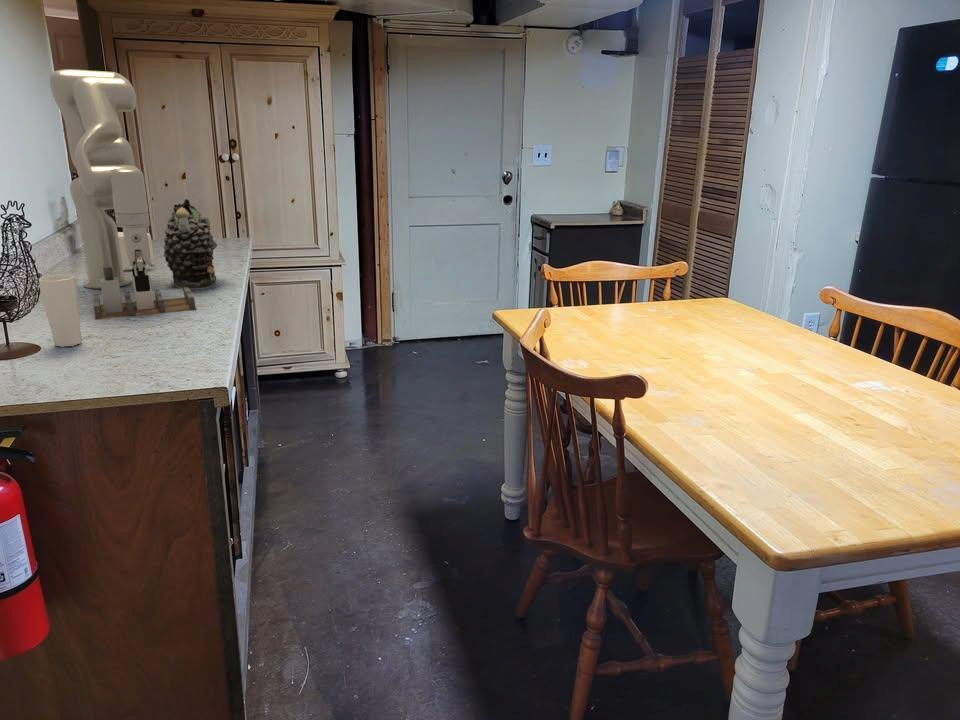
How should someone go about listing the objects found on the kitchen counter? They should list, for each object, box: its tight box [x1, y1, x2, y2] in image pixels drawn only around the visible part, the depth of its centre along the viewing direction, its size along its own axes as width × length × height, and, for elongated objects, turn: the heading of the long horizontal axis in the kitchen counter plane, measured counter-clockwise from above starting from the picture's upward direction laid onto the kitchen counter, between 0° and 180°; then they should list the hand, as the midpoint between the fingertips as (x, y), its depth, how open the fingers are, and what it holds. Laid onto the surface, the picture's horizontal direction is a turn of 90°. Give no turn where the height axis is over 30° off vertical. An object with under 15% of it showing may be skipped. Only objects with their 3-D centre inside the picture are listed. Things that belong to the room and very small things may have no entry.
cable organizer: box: [117, 231, 155, 272], centre depth 231 cm, size 15×11×12 cm
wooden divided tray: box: [92, 287, 197, 320], centre depth 180 cm, size 15×23×4 cm, turn 118°
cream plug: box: [131, 274, 154, 310], centre depth 179 cm, size 4×4×11 cm
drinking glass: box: [38, 274, 83, 348], centre depth 152 cm, size 7×7×15 cm
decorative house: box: [163, 199, 218, 291], centre depth 208 cm, size 21×15×25 cm
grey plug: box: [100, 267, 123, 313], centre depth 176 cm, size 4×4×11 cm
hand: (142, 287), depth 179 cm, fingers open, 9 cm apart
